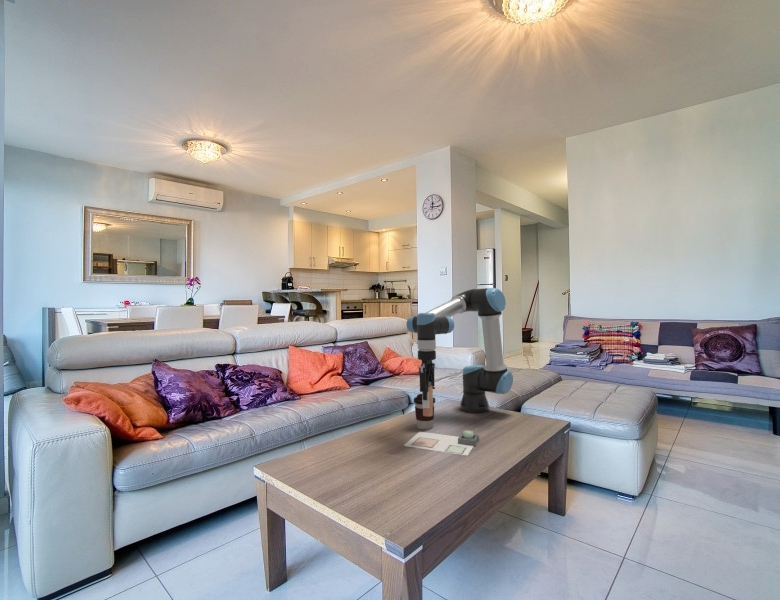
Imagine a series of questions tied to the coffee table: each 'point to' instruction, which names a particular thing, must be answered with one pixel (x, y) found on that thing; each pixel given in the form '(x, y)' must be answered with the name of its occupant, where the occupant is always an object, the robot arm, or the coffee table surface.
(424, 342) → the robot arm
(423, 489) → the coffee table surface
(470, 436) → the button
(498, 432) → the coffee table surface
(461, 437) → the button housing
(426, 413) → the marker
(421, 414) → the coffee cup
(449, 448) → the sheet
